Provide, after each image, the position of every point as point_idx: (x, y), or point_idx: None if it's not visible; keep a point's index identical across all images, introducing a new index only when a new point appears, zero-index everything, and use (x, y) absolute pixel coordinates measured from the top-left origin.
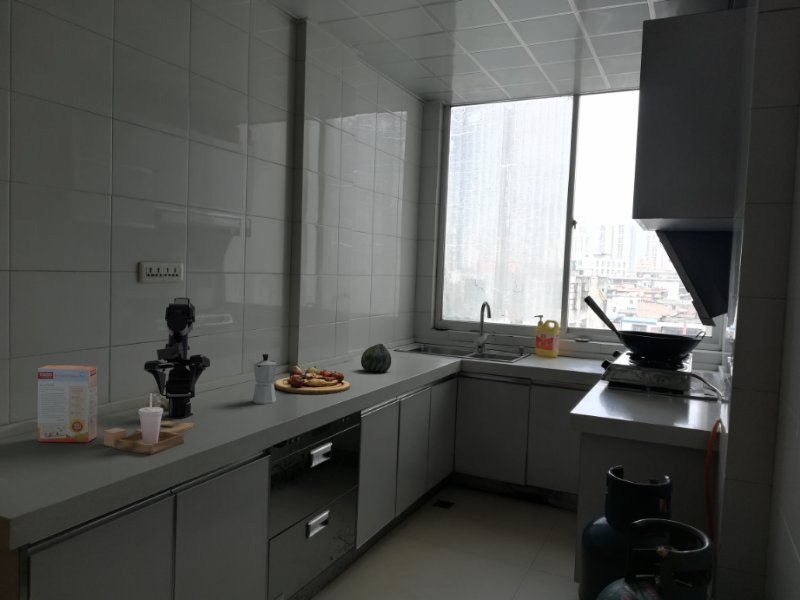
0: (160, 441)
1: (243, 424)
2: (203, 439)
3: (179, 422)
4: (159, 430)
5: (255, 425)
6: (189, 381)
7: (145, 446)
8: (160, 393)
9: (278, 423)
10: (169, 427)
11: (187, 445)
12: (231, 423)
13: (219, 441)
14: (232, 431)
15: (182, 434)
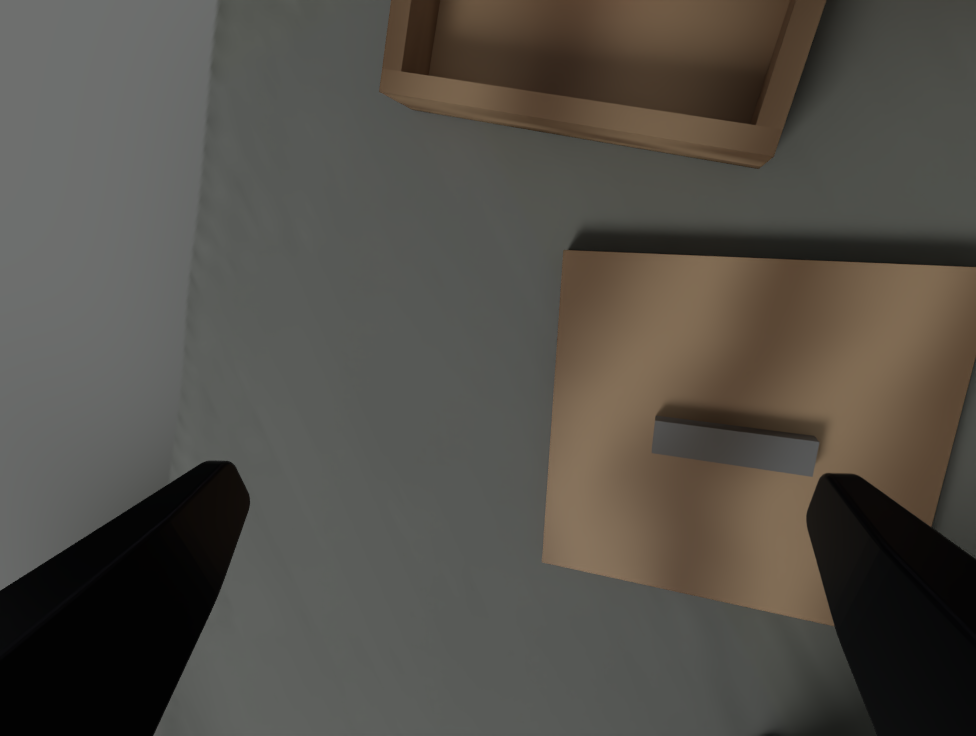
0: (570, 29)
1: (293, 613)
2: (340, 243)
3: (677, 583)
4: (640, 133)
5: (230, 596)
6: (92, 577)
7: None
8: (847, 473)
9: None
10: (685, 420)
11: (363, 66)
12: (362, 631)
13: (238, 229)
14: (276, 459)
15: (387, 84)
